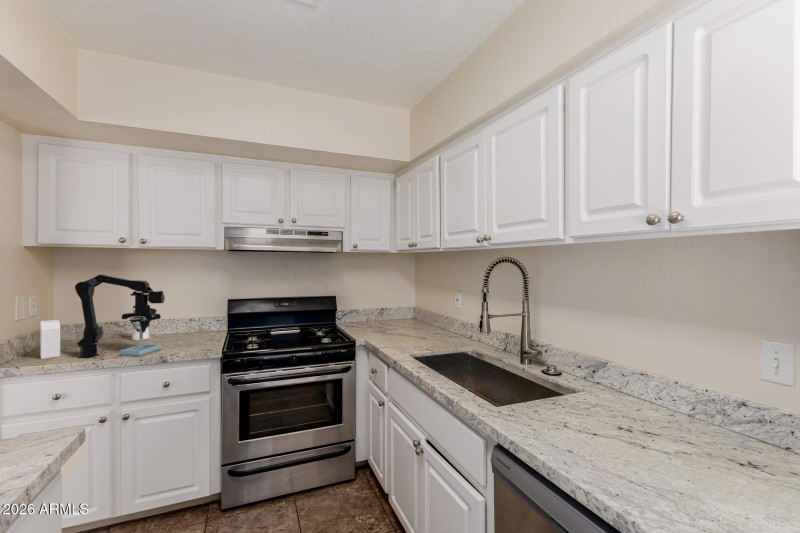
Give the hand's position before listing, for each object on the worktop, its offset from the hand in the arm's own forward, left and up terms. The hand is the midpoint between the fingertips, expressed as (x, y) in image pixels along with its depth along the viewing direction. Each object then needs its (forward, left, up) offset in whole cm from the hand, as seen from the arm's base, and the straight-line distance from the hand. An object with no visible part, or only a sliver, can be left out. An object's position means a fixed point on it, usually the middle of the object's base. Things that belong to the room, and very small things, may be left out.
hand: (141, 332), depth 196 cm
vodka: (-28, +31, -12) cm, 44 cm away
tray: (0, 0, -12) cm, 12 cm away
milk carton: (-40, -13, -12) cm, 44 cm away
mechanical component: (0, 0, -4) cm, 4 cm away
